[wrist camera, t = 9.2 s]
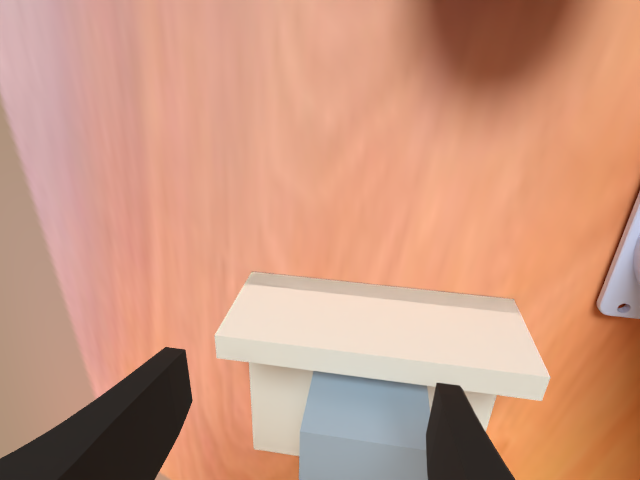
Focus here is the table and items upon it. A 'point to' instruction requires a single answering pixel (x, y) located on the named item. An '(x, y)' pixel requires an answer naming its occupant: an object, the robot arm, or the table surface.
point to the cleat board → (371, 345)
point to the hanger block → (363, 429)
